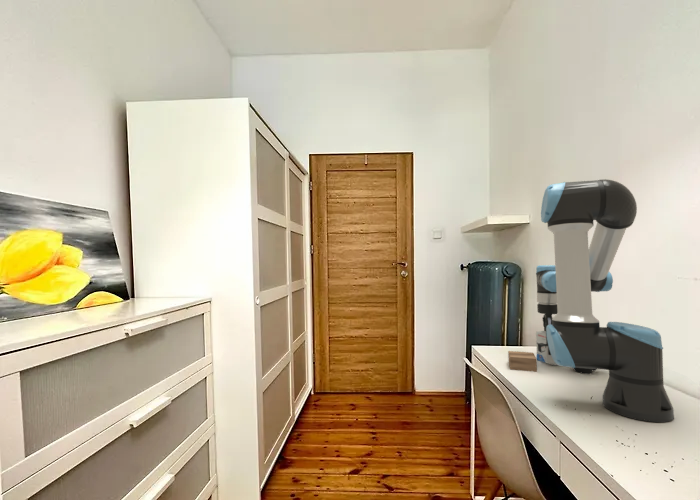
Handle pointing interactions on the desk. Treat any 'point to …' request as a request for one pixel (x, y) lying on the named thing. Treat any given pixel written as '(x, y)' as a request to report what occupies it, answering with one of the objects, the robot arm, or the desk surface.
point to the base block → (522, 361)
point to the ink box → (541, 346)
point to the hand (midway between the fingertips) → (549, 359)
